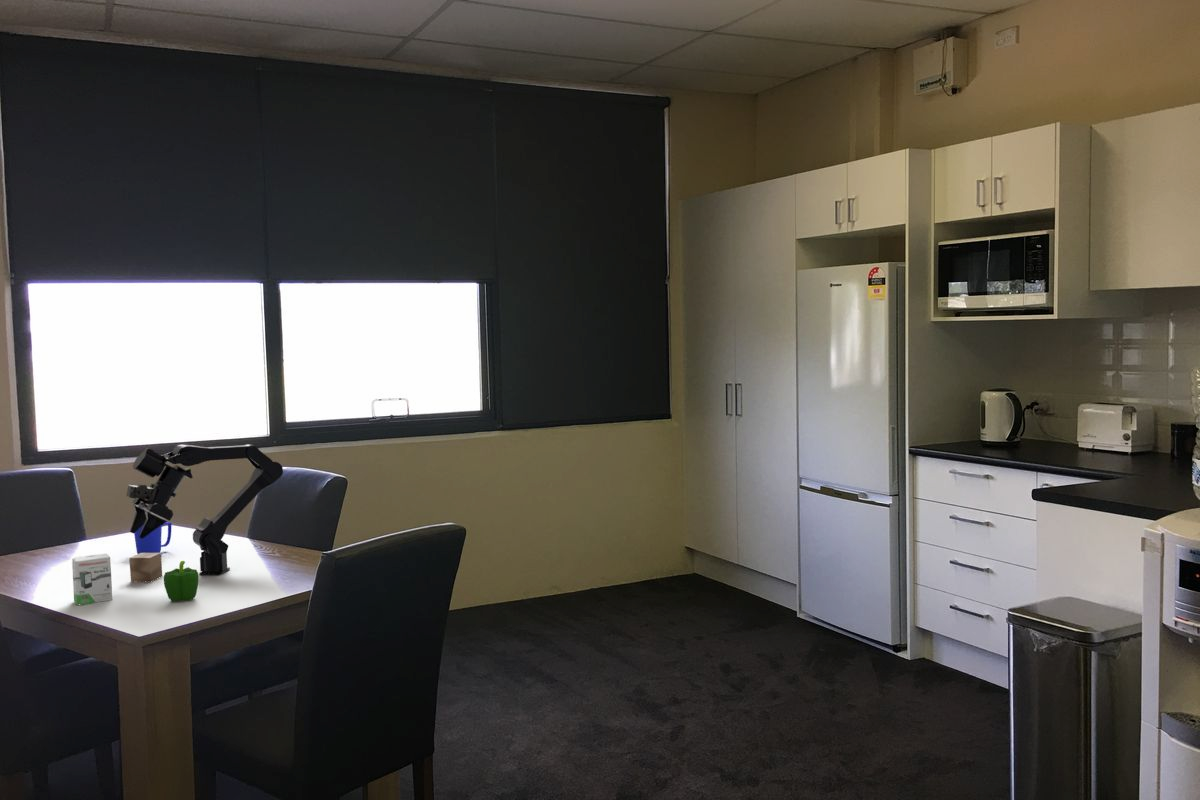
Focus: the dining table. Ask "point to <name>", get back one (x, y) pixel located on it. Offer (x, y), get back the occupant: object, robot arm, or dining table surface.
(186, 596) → the bell pepper
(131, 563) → the walnut block
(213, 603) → the dining table surface
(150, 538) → the mug
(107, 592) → the ink box
